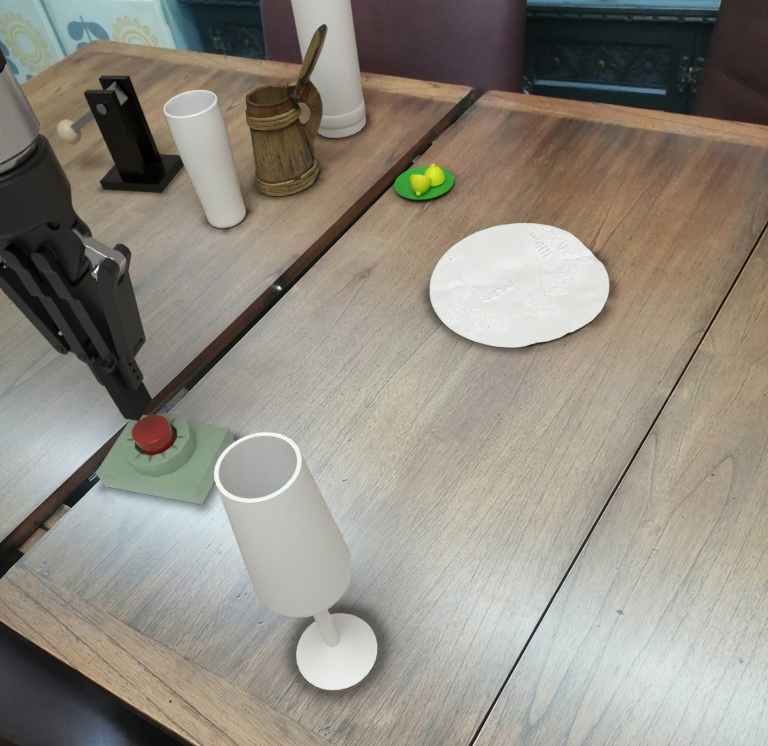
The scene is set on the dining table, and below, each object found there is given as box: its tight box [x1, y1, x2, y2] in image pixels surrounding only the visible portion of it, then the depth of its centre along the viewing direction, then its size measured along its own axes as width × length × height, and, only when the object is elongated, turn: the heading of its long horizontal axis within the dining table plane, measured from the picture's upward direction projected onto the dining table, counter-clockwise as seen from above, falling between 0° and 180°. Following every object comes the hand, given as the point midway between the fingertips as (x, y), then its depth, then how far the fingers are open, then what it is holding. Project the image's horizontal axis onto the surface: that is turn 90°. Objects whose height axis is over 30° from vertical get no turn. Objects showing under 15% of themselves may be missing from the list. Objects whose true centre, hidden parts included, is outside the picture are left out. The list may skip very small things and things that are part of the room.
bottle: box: [290, 0, 367, 139], centre depth 93 cm, size 8×8×30 cm
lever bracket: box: [83, 74, 184, 194], centre depth 98 cm, size 10×8×13 cm
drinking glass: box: [162, 89, 247, 229], centre depth 88 cm, size 7×7×15 cm
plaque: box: [429, 222, 610, 348], centre depth 78 cm, size 20×20×2 cm
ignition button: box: [132, 414, 175, 455], centre depth 66 cm, size 4×4×2 cm
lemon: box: [393, 163, 455, 200], centre depth 92 cm, size 8×8×3 cm
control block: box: [95, 412, 236, 506], centre depth 68 cm, size 11×8×4 cm
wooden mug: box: [244, 24, 328, 197], centre depth 91 cm, size 9×14×18 cm, turn 94°
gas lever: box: [56, 82, 128, 145], centre depth 98 cm, size 14×3×3 cm, turn 73°
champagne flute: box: [214, 431, 378, 691], centre depth 46 cm, size 7×7×24 cm
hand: (138, 408), depth 63 cm, fingers closed
